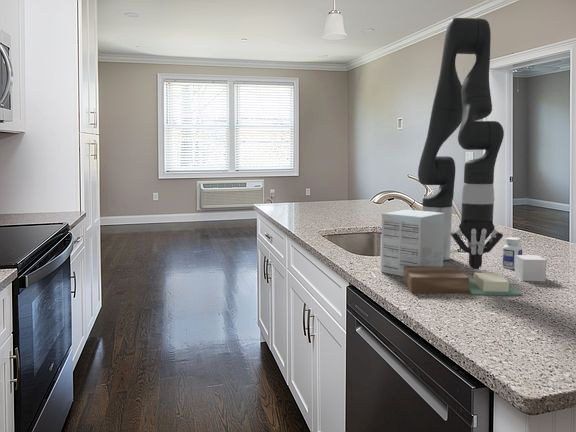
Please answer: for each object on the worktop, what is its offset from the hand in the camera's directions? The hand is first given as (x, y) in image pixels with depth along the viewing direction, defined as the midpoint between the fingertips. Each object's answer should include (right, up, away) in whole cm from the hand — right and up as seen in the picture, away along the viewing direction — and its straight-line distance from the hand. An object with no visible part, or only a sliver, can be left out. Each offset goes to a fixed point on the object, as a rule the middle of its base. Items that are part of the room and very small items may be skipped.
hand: (474, 268), depth 127 cm
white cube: (+19, -4, +9) cm, 21 cm away
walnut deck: (-10, -5, +1) cm, 11 cm away
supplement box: (-12, -3, +17) cm, 21 cm away
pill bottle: (+19, -2, +22) cm, 30 cm away
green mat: (+3, -5, 0) cm, 6 cm away
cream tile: (+4, -2, -1) cm, 4 cm away
